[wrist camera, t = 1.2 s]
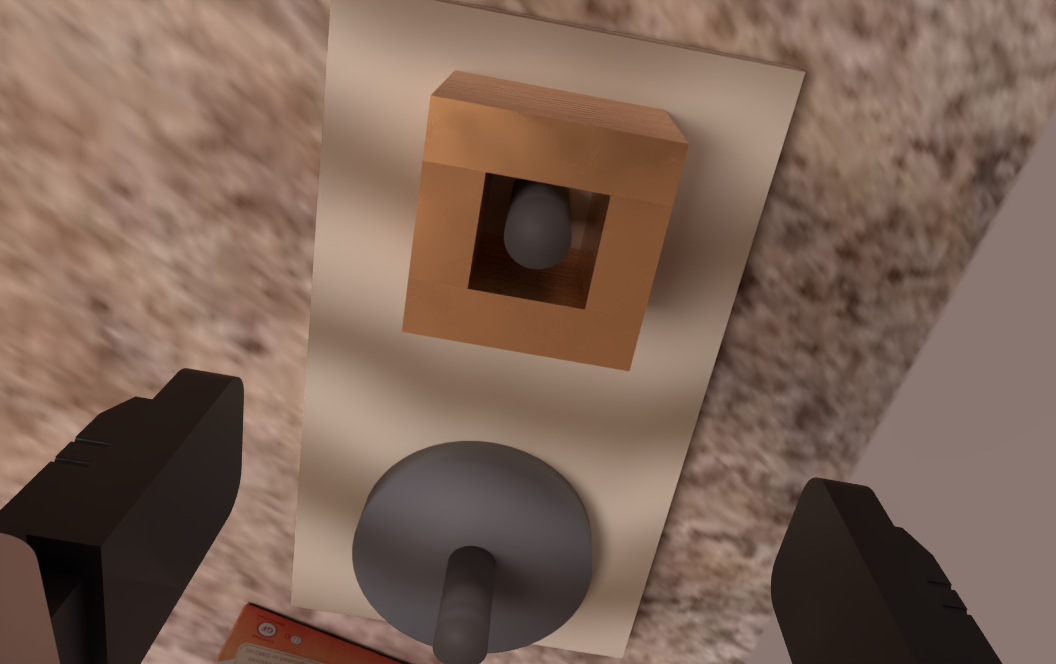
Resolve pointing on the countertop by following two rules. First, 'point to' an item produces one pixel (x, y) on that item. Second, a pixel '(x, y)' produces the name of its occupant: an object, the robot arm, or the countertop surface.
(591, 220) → the hollow wooden cube
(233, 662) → the cracker box
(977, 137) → the countertop surface
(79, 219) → the countertop surface
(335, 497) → the board
